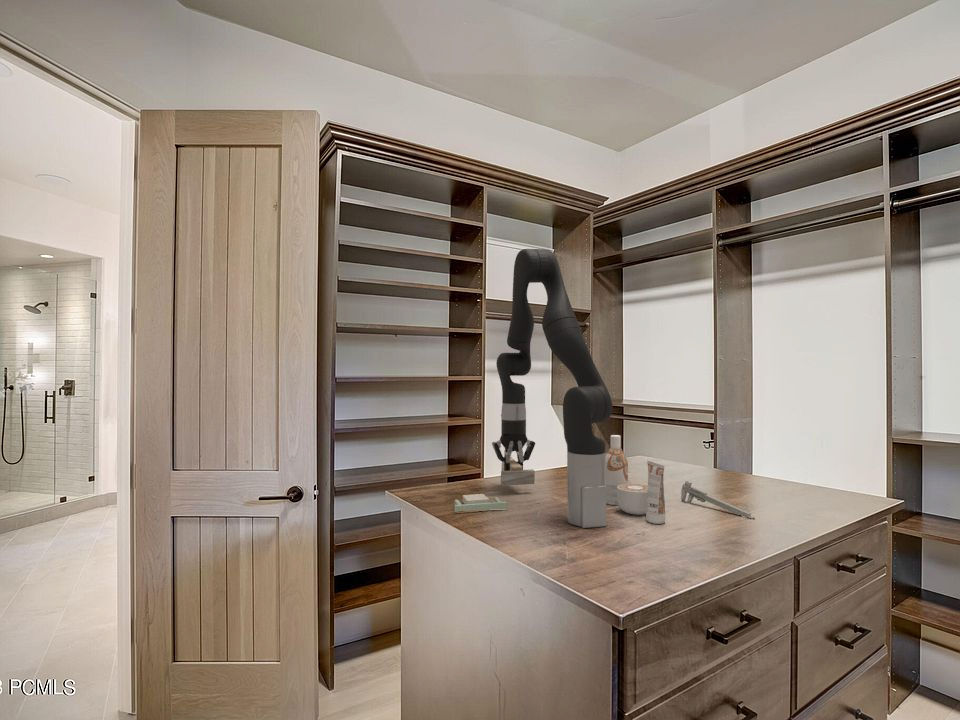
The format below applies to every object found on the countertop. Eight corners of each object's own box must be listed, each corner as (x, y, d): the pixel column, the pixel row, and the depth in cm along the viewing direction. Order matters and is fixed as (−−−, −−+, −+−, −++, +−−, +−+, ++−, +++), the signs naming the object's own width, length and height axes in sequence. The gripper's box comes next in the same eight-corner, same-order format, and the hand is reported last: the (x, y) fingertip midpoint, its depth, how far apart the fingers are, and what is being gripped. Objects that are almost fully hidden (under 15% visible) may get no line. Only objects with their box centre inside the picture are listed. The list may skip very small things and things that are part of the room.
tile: (489, 508, 141) (489, 499, 141) (467, 510, 139) (467, 500, 139) (483, 502, 147) (483, 493, 147) (462, 504, 145) (462, 495, 145)
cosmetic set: (680, 524, 125) (680, 446, 125) (647, 528, 123) (647, 448, 123) (624, 498, 149) (623, 433, 149) (595, 501, 147) (595, 434, 147)
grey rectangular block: (534, 483, 155) (534, 467, 155) (502, 485, 153) (502, 469, 152) (520, 471, 168) (521, 456, 167) (490, 472, 165) (491, 457, 165)
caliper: (681, 502, 146) (680, 480, 146) (683, 501, 147) (683, 479, 147) (753, 520, 129) (753, 495, 129) (755, 520, 130) (755, 494, 130)
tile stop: (507, 510, 138) (507, 502, 138) (455, 513, 135) (455, 506, 135) (500, 504, 144) (500, 496, 144) (451, 507, 140) (451, 500, 140)
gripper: (494, 419, 153) (494, 478, 153) (539, 418, 157) (539, 476, 157) (488, 417, 161) (488, 473, 161) (531, 416, 164) (531, 470, 164)
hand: (513, 474), depth 159 cm, fingers closed on grey rectangular block, 3 cm apart
